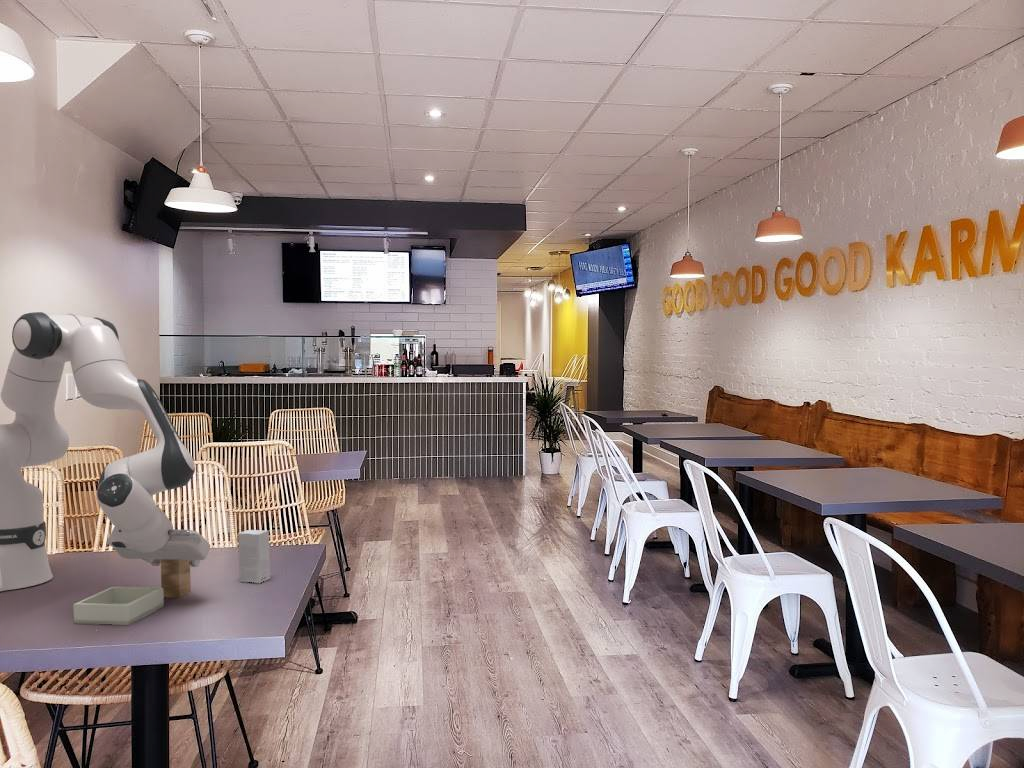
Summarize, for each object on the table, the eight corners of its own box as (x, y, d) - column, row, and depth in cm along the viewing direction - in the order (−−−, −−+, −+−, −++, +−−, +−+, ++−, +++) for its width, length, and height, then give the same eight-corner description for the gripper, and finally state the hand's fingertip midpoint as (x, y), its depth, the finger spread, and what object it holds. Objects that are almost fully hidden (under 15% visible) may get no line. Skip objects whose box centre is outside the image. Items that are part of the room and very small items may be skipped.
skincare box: (270, 579, 181) (269, 530, 180) (259, 584, 177) (258, 534, 176) (249, 577, 182) (248, 529, 182) (238, 582, 178) (237, 532, 178)
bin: (73, 623, 151) (73, 604, 151) (112, 604, 163) (112, 586, 162) (128, 625, 149) (127, 605, 149) (163, 606, 161) (163, 587, 161)
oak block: (161, 597, 167) (160, 553, 167) (172, 591, 172) (171, 548, 171) (179, 597, 167) (178, 553, 167) (190, 592, 171) (189, 549, 171)
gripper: (200, 519, 160) (224, 552, 170) (113, 518, 163) (142, 550, 173) (189, 544, 156) (214, 577, 166) (100, 542, 159) (130, 575, 169)
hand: (176, 563), depth 170 cm, fingers open, 8 cm apart
